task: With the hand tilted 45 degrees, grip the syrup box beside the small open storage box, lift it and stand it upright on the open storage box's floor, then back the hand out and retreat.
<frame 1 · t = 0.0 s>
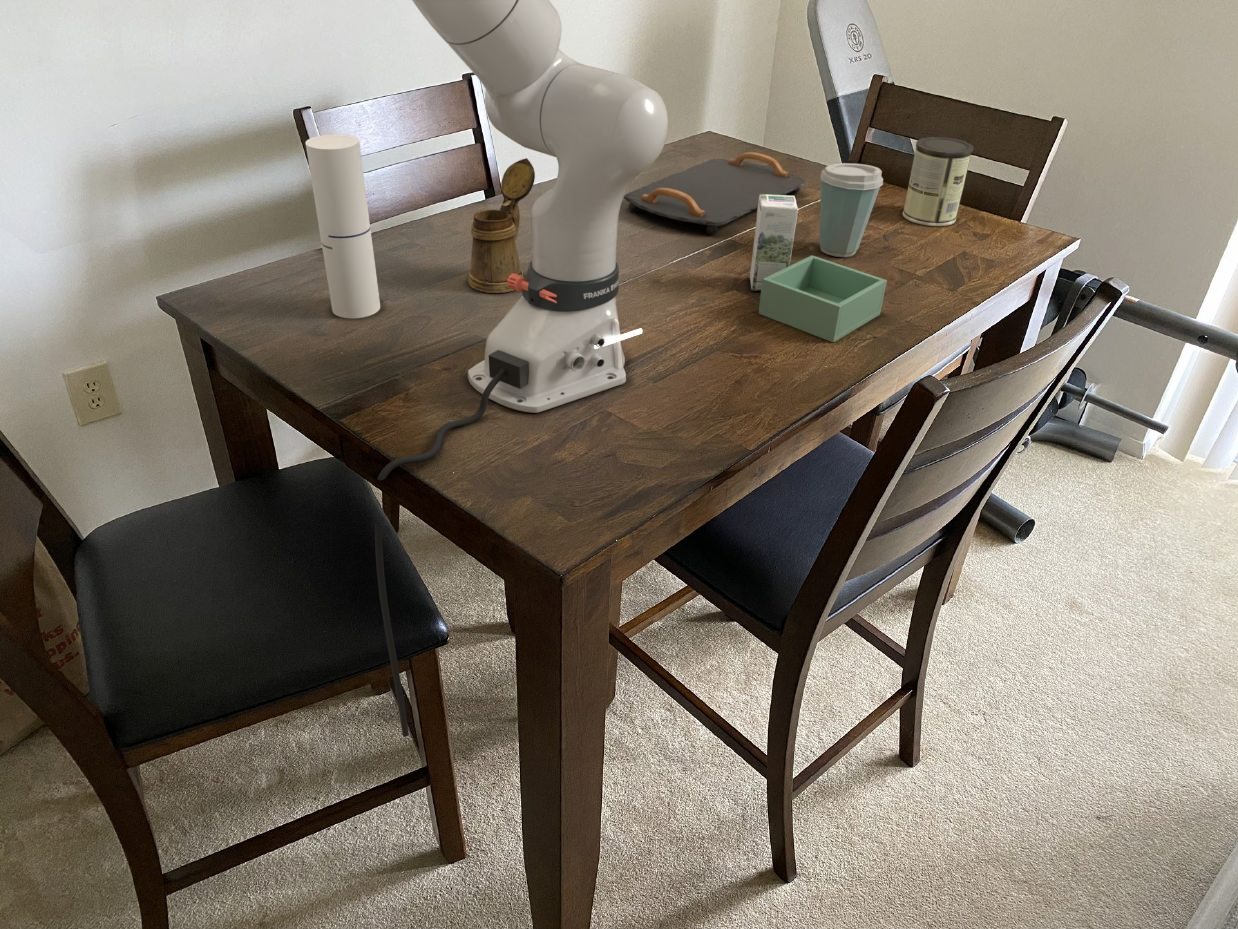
coffee can: (928, 218, 183), on the table
cylindrical container: (356, 309, 143), on the table
disposable coffee cup: (838, 251, 168), on the table
serving tray: (715, 202, 187), on the table
open storage box: (819, 314, 146), on the table
wooden mug: (505, 278, 154), on the table
syrup box: (767, 286, 154), on the table
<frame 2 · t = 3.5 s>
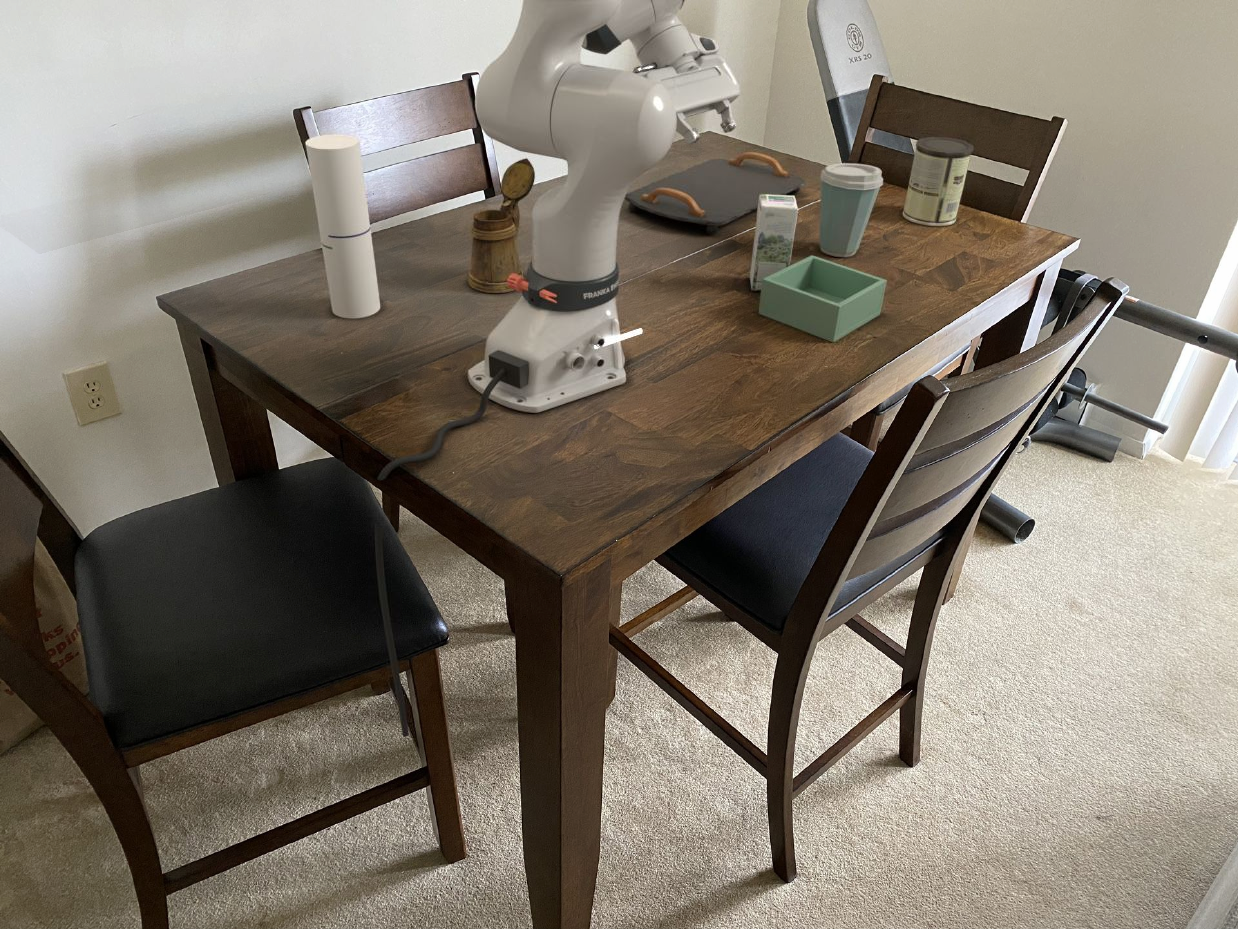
hand: (713, 135, 149), 21 cm above the table, tool tilted 45°, fingers open, 8 cm apart
nothing on the table moved.
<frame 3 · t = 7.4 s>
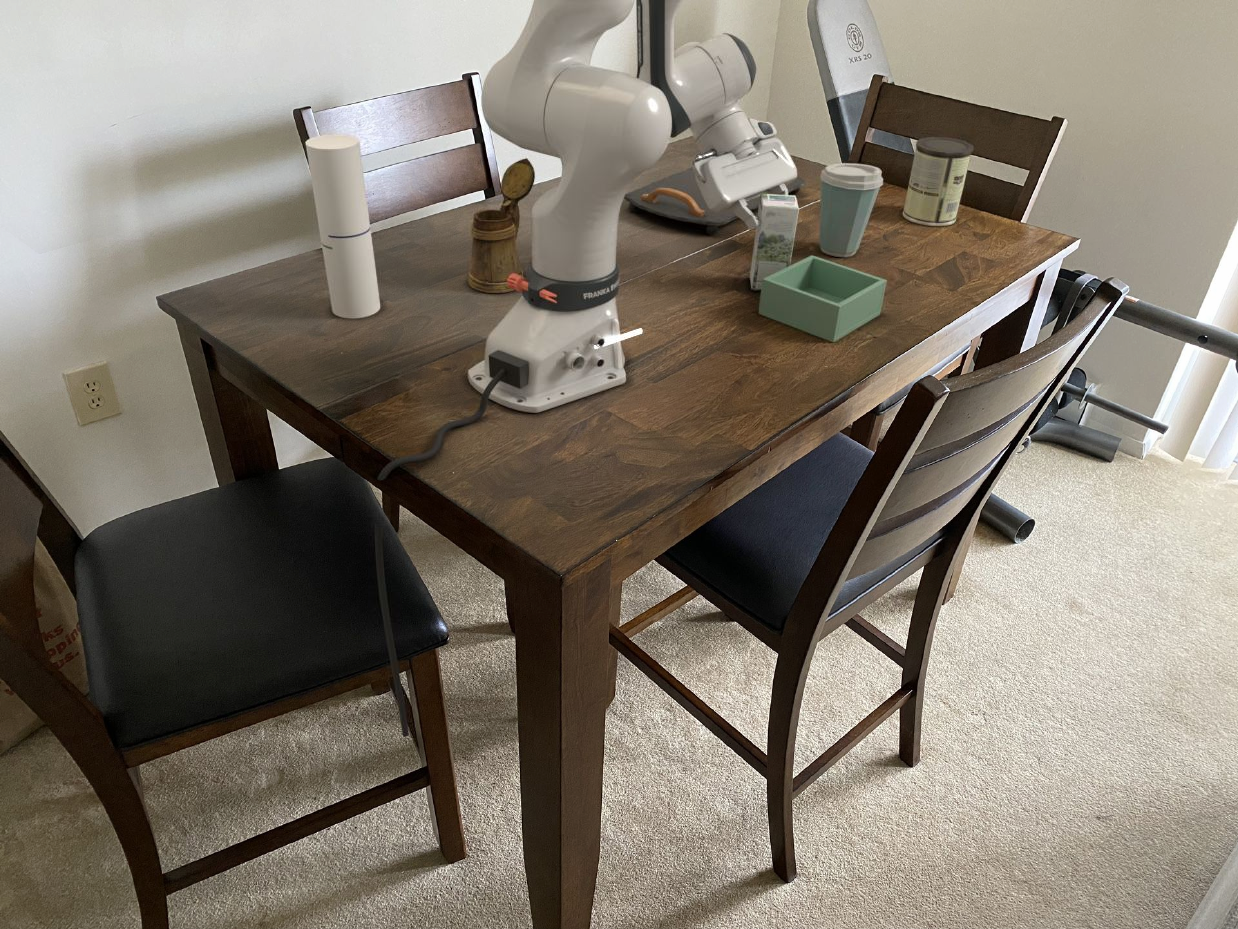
hand: (772, 220, 148), 11 cm above the table, tool tilted 45°, fingers closed on syrup box, 7 cm apart
syrup box: (767, 286, 154), on the table, touching gripper
everything else where it was.
when the fingers open (12 cm above the table, at t = 15.7 s): syrup box stays where it is, resting on open storage box.
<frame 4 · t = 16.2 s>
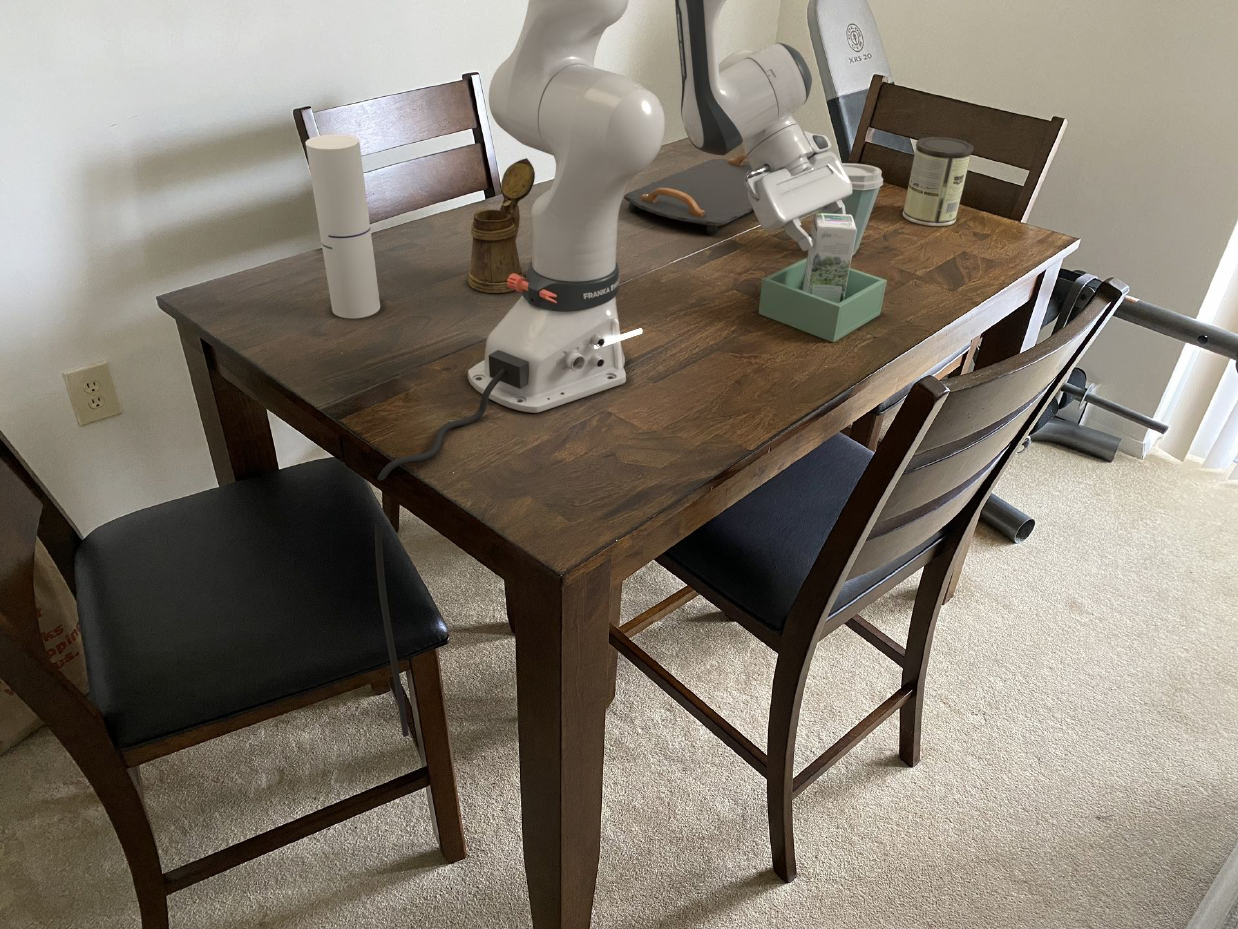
hand: (828, 240, 139), 12 cm above the table, tool tilted 45°, fingers open, 8 cm apart
syrup box: (820, 310, 145), point 1 cm above the table, touching open storage box
everything else where it was.
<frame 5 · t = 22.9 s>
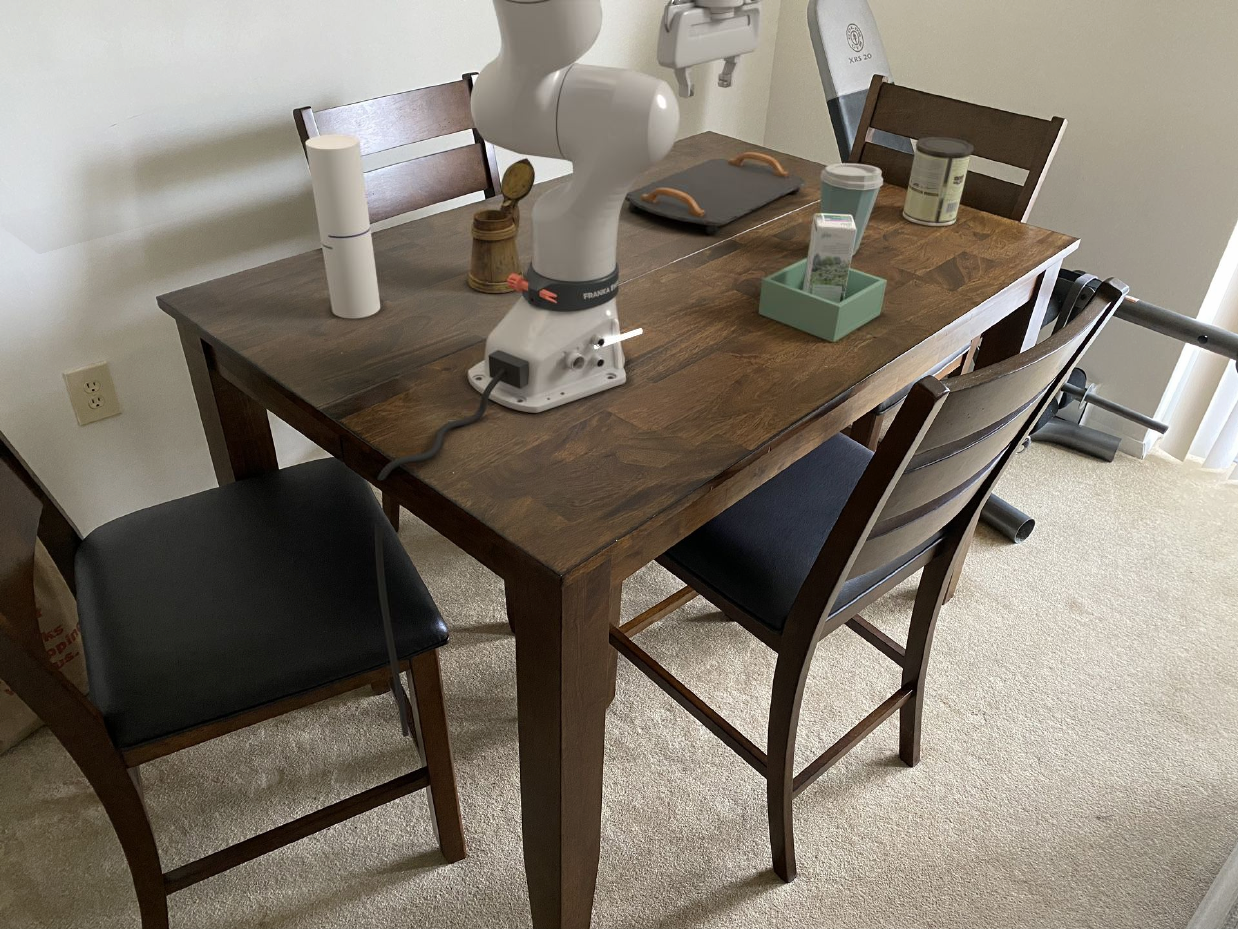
hand: (705, 91, 141), 29 cm above the table, tool pointing down, fingers open, 8 cm apart
nothing on the table moved.
at the end: syrup box inside the target area in the open storage box (0.1 cm from its centre), point 0.6 cm above the open storage box's base; syrup box tilted 0°; the gripper is holding nothing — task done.
